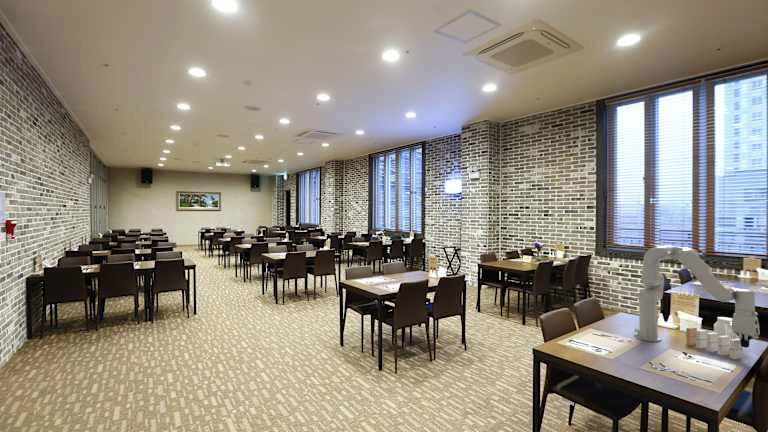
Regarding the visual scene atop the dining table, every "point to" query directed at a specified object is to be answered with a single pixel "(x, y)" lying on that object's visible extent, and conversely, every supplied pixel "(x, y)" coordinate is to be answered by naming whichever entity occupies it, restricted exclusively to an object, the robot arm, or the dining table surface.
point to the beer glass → (730, 332)
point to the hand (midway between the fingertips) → (744, 346)
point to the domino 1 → (691, 335)
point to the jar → (721, 325)
